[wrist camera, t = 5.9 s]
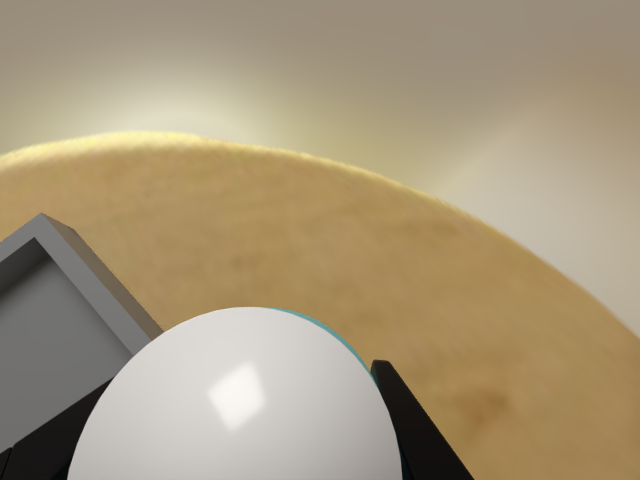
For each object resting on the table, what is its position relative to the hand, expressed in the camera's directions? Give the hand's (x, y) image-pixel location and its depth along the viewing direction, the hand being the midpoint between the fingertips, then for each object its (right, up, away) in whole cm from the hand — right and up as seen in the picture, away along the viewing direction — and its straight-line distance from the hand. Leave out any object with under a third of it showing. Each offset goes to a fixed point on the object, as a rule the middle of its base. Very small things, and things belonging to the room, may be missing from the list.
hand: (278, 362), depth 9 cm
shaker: (0, -4, +6) cm, 7 cm away
